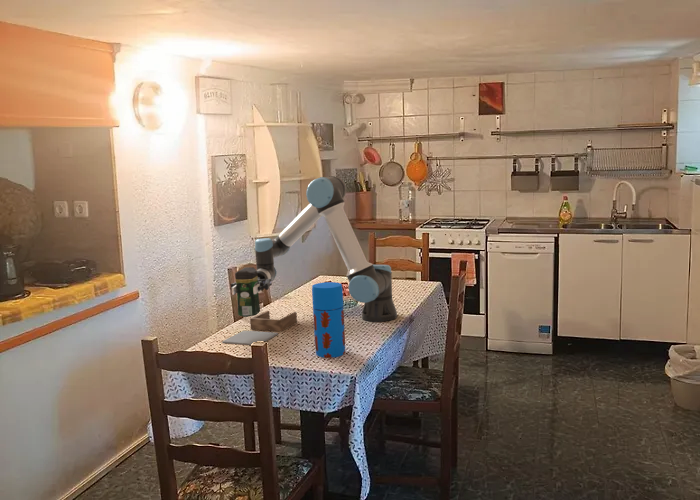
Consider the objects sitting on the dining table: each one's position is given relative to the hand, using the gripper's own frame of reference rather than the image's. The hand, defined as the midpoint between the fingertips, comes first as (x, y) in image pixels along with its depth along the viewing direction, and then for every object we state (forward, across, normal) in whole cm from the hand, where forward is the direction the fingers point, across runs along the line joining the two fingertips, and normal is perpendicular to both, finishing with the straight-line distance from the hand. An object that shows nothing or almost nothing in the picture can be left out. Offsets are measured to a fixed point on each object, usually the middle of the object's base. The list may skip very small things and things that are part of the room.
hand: (243, 290), depth 259 cm
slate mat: (-4, 0, -20) cm, 20 cm away
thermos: (+16, -36, -20) cm, 44 cm away
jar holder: (-23, -5, -20) cm, 31 cm away
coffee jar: (-5, 0, -11) cm, 12 cm away
